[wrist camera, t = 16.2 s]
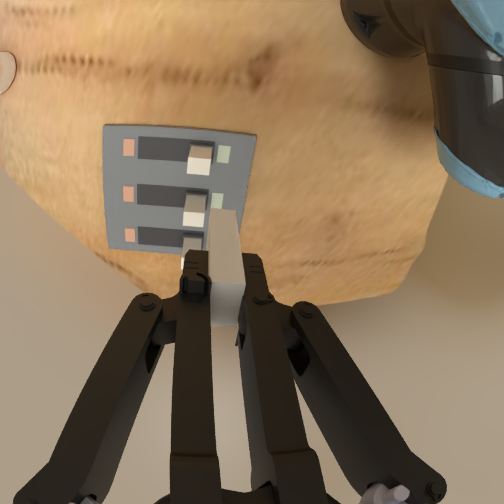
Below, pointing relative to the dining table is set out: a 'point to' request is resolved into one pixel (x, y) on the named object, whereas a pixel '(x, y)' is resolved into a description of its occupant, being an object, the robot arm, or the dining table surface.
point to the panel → (168, 182)
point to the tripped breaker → (190, 244)
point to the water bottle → (6, 70)
